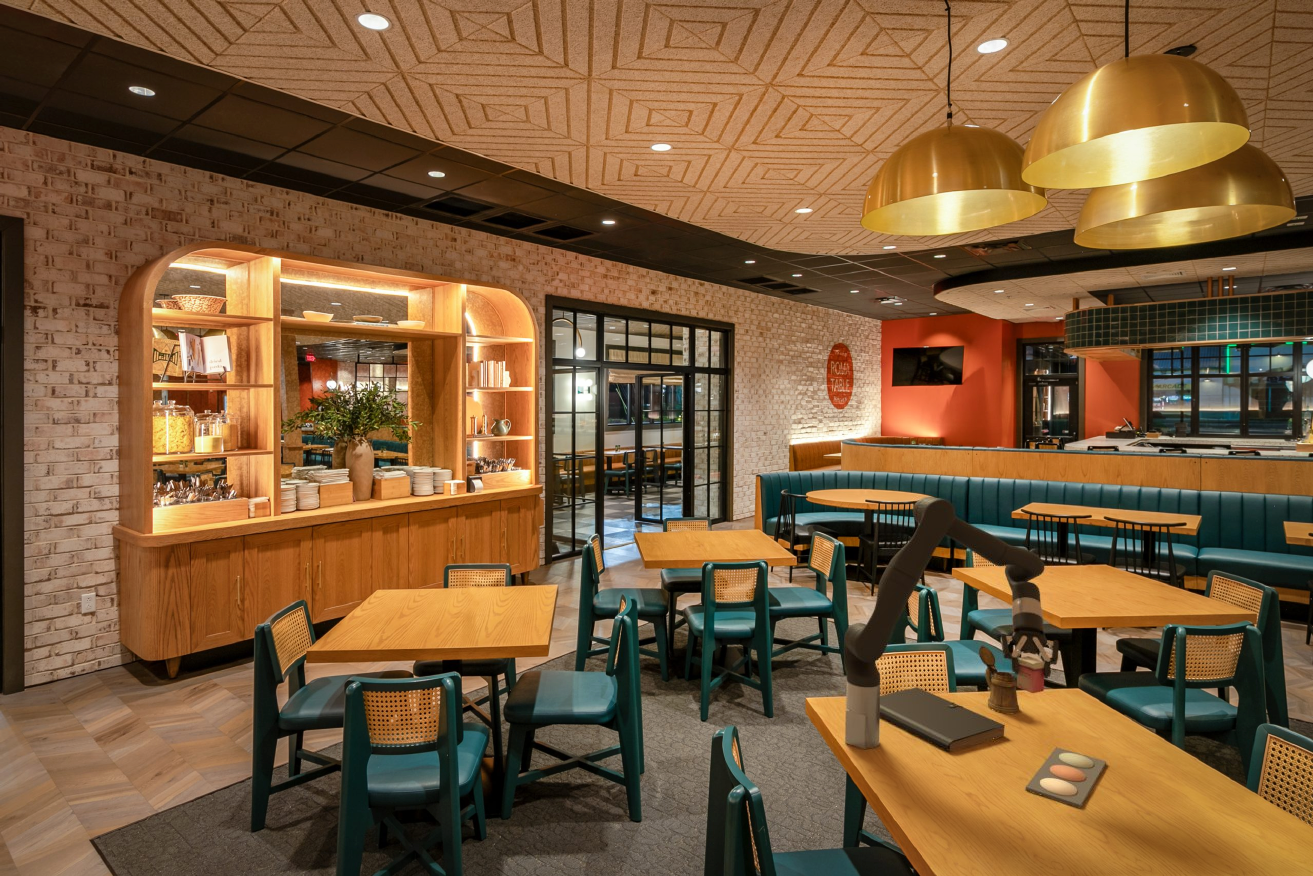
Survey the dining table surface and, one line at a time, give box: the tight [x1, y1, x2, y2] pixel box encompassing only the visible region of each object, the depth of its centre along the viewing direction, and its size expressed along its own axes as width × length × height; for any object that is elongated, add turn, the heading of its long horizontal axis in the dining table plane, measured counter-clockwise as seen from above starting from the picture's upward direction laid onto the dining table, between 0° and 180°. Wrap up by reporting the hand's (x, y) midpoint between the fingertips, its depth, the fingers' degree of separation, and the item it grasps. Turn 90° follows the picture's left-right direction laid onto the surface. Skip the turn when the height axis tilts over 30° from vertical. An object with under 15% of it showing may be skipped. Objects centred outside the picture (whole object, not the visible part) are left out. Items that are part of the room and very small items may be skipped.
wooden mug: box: [978, 644, 1020, 714], centre depth 227 cm, size 9×14×18 cm, turn 24°
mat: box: [1025, 746, 1107, 809], centre depth 181 cm, size 30×12×1 cm, turn 137°
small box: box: [1016, 655, 1045, 694], centre depth 183 cm, size 5×4×8 cm
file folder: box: [880, 687, 1006, 753], centre depth 214 cm, size 33×4×24 cm
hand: (1031, 675), depth 181 cm, fingers closed on small box, 6 cm apart
